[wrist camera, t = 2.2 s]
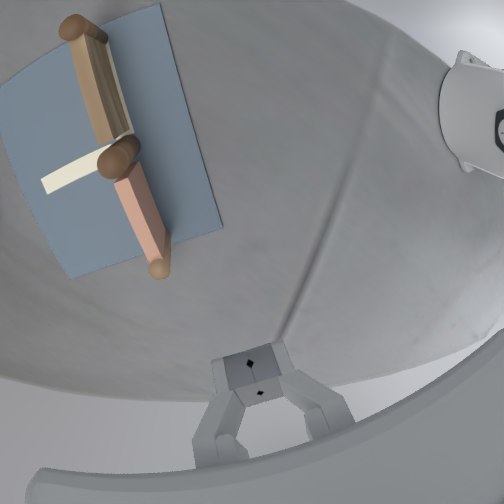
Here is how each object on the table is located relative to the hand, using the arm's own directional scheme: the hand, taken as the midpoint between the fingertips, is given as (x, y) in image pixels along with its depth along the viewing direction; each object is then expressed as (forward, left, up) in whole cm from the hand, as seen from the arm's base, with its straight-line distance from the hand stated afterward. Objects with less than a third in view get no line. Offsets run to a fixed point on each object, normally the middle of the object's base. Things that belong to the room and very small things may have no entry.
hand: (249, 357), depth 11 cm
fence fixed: (+6, -12, -19) cm, 23 cm away
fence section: (+6, -1, -18) cm, 19 cm away
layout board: (+9, -8, -19) cm, 22 cm away
